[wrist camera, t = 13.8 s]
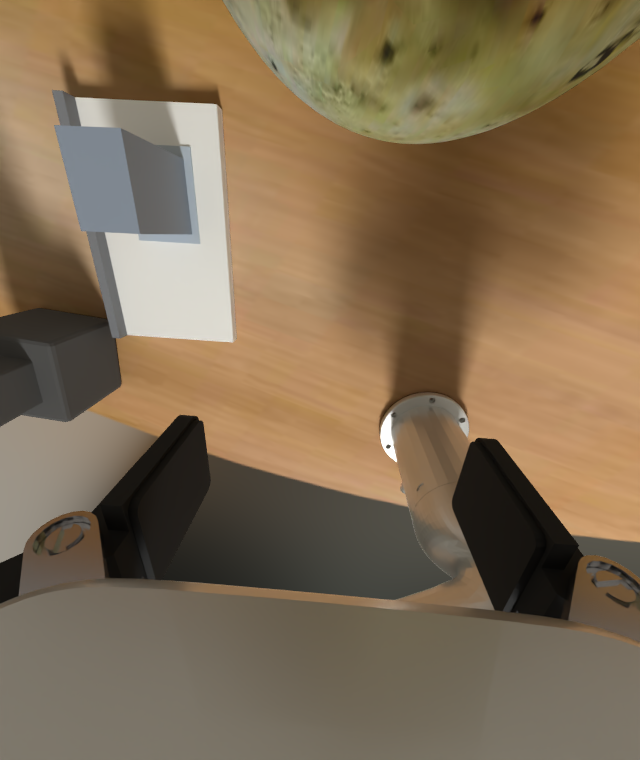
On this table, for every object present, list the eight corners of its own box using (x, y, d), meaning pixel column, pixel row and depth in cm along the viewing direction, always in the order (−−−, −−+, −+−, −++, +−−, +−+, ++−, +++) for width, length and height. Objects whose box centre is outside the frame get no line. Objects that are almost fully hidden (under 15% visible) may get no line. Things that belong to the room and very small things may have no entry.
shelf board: (236, 338, 41) (229, 346, 38) (124, 331, 42) (109, 337, 39) (222, 109, 31) (210, 97, 28) (73, 102, 31) (48, 90, 29)
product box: (183, 158, 31) (120, 127, 22) (192, 234, 34) (140, 234, 25) (132, 156, 32) (50, 124, 23) (145, 232, 35) (77, 230, 26)
